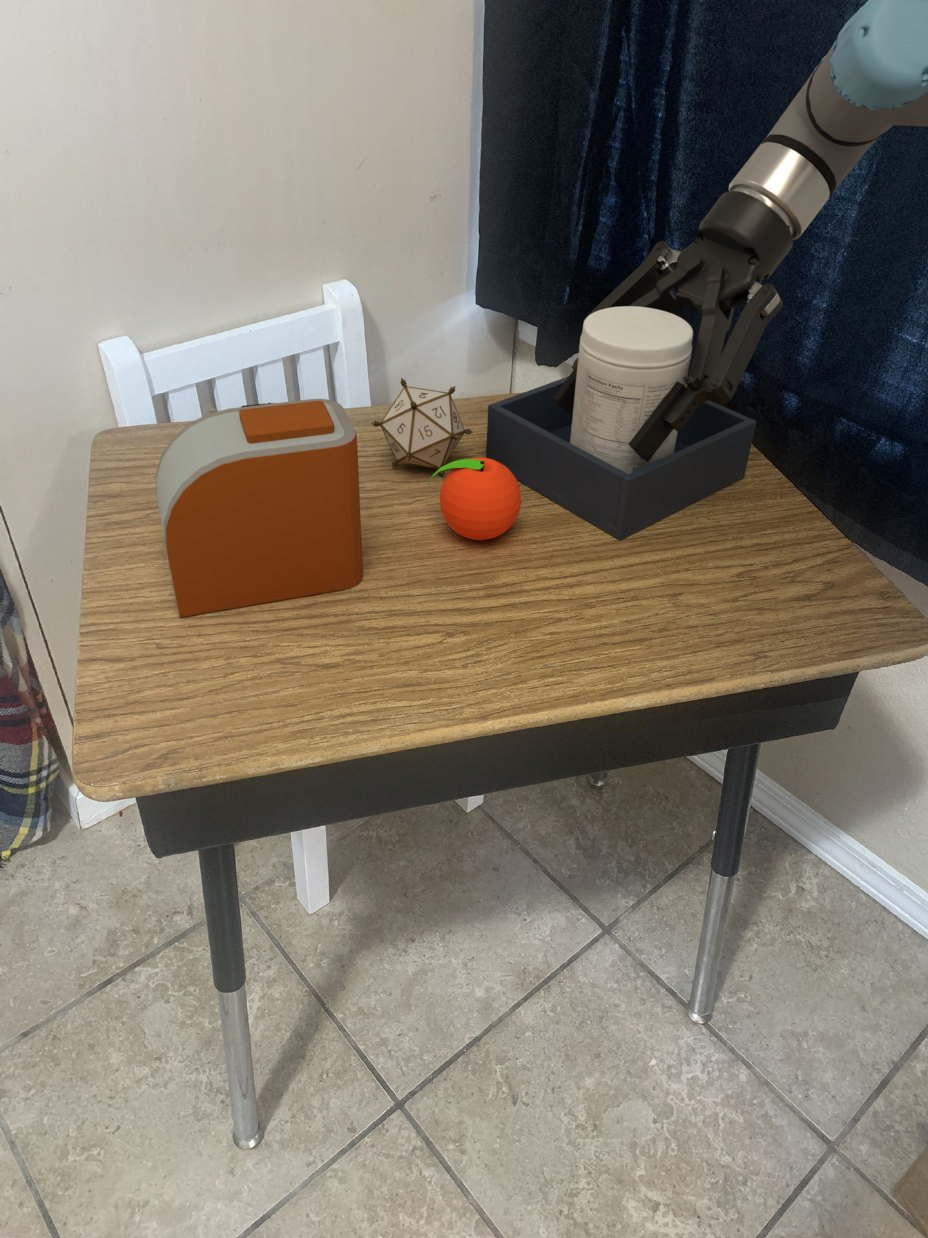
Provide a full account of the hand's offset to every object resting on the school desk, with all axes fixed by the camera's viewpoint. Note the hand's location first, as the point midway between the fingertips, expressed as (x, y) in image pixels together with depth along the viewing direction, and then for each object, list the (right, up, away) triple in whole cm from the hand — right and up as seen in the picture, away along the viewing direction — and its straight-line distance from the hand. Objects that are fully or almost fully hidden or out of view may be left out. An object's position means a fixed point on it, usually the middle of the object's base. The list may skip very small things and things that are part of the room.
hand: (598, 429), depth 86 cm
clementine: (-11, -9, -1) cm, 15 cm away
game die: (-16, -2, +8) cm, 18 cm away
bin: (+3, -2, +8) cm, 9 cm away
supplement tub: (+2, -4, +5) cm, 7 cm away
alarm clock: (-28, -13, -6) cm, 31 cm away
